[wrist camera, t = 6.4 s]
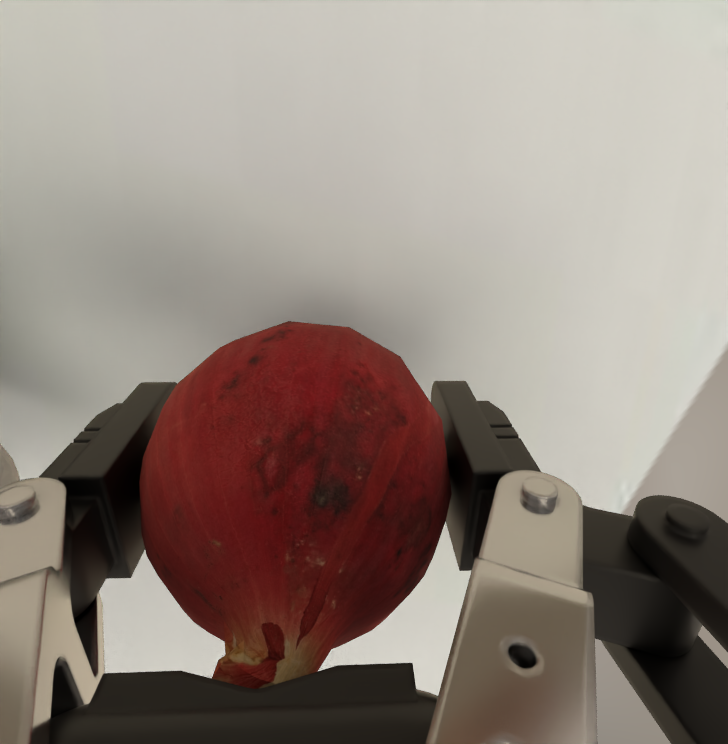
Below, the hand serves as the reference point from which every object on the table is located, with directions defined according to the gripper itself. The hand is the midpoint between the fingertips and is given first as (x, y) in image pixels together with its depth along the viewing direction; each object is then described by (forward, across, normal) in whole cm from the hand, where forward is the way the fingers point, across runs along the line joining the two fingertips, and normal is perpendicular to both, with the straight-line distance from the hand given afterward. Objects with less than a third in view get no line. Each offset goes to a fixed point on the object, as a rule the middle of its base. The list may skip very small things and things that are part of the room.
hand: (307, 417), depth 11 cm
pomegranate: (+2, 0, 0) cm, 2 cm away
